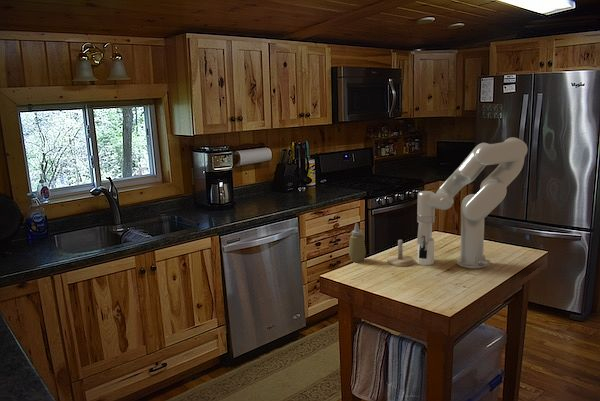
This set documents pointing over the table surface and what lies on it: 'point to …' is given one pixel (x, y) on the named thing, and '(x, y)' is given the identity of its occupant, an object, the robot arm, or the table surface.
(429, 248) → the paper roll
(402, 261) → the roll stand
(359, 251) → the squeeze bottle
